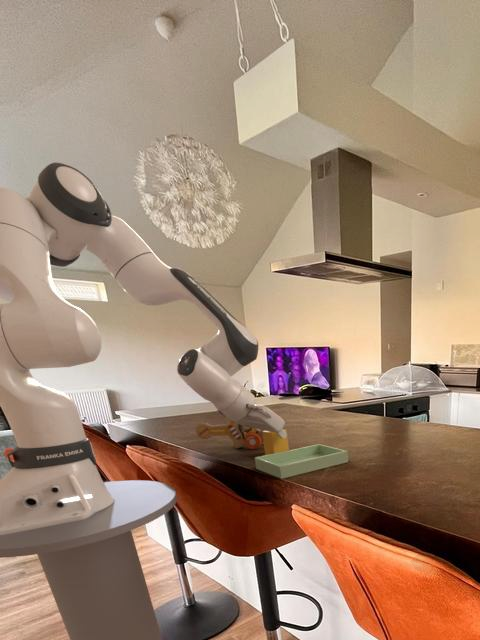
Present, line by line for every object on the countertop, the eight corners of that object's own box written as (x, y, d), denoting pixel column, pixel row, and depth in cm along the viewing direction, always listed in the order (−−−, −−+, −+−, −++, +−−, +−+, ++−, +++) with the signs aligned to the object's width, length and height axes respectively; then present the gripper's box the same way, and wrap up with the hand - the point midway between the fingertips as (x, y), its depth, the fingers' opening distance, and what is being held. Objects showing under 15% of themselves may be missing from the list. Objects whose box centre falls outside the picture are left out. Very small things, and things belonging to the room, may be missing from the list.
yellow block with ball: (274, 458, 118) (269, 417, 114) (265, 455, 121) (259, 415, 117) (289, 454, 121) (284, 414, 117) (280, 452, 125) (274, 413, 121)
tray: (281, 478, 99) (279, 466, 98) (256, 468, 108) (254, 457, 107) (348, 462, 111) (347, 450, 110) (320, 454, 120) (319, 443, 119)
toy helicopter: (265, 449, 129) (258, 403, 124) (196, 453, 128) (186, 407, 123) (269, 443, 137) (263, 400, 132) (204, 447, 136) (196, 403, 131)
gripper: (265, 396, 104) (302, 429, 114) (226, 392, 117) (262, 422, 127) (252, 417, 102) (290, 448, 112) (213, 410, 116) (251, 439, 126)
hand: (275, 434), depth 120 cm, fingers open, 8 cm apart
